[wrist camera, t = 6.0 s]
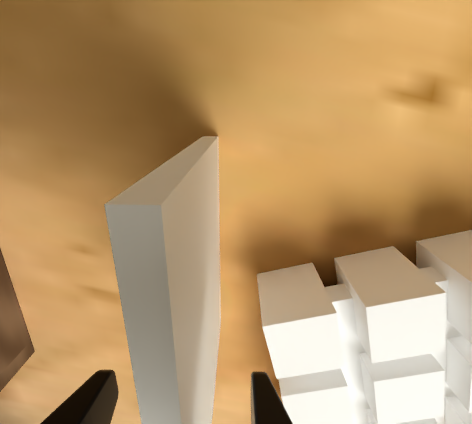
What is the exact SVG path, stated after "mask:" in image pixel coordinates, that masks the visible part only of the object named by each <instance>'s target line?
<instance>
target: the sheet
mask: <svg viewBox="0 0 472 424" xmlns="http://www.w3.org/2000/svg"><path fill="white" fill-rule="evenodd" d="M104 205H105V211H106V217H107V223H108V229H109V234H110V240H111V246H112V252H113V258H114V264H115V270H116V276H117V282H118V287H119V293H120V299H121V305H122V311H123V317H124V323H125V329H126V334H127V340H128V346H129V352H130V358H131V364H132V370H133V376H134V382H135V387H136V393H137V399H138V405H139V411H140V417H141V423H142V424H212V415H213V404H214V392H215V381H216V370H217V359H218V348H219V336H220V325H221V291H220V217H219V142H218V136H202V137H201V138H200V139H198V140H197V141H195V142H194V143H192V144H191V145H189V146H188V147H187V148H185V149H184V150H182V151H181V152H179V153H178V154H176V155H175V156H174V157H172V158H171V159H169V160H168V161H166V162H165V163H163V164H162V165H161V166H159V167H158V168H156V169H155V170H153V171H152V172H150V173H149V174H148V175H146V176H145V177H143V178H142V179H140V180H139V181H137V182H136V183H135V184H133V185H132V186H130V187H129V188H127V189H126V190H124V191H123V192H122V193H120V194H119V195H117V196H116V197H114V198H113V199H111V200H110V201H109V202H107V203H106V204H104Z"/></svg>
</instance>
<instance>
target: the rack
mask: <svg viewBox="0 0 472 424" xmlns="http://www.w3.org/2000/svg"><path fill="white" fill-rule="evenodd" d="M34 352H35V351H34V348H33V345H32V342H31V339H30V336H29V333H28V330H27V327H26V324H25V321H24V319H23V316H22V313H21V310H20V307H19V304H18V301H17V298H16V295H15V292H14V289H13V286H12V283H11V280H10V277H9V274H8V271H7V268H6V265H5V262H4V259H3V256H2V253H1V250H0V392H1V390H2V389H3V388H4V387H5V386H6V384H7V383H8V382H9V381H10V380H11V379H12V377H13V376H14V375H15V374H16V373H17V372H18V370H19V369H20V368H21V367H22V366H23V365H24V363H25V362H26V361H27V360H28V359H29V357H30V356H31V355H32V354H33V353H34Z"/></svg>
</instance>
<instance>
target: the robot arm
mask: <svg viewBox="0 0 472 424" xmlns="http://www.w3.org/2000/svg"><path fill="white" fill-rule="evenodd" d="M117 399H118V385H117V381H116V376H115V372H114V371H113V370H99V371H97V372H96V373H95V374H93V375H92V376H91V377H90V378H89V379H88V380H87V381H86V382H85V383H84V384H83V385H82V386H81V387H79V388H78V389H77V390H76V391H75V392H74V393H73V394H72V395H71V396H70V397H69V398H68V399H66V400H65V401H64V402H63V403H62V404H61V405H60V406H59V407H58V408H57V409H56V410H55V411H53V412H52V413H51V414H50V415H49V416H48V417H47V418H46V419H45V420H44V421H43V422H42V423H41V424H110V423H111V420H112V416H113V413H114V409H115V406H116V403H117ZM251 424H293V423H292V421H291V419H290V417H289V415H288V414H287V412H286V410H285V408H284V406H283V404H282V402H281V400H280V398H279V396H278V394H277V392H276V390H275V388H274V386H273V384H272V383H271V381H270V379H269V377H268V375H267V374H266V373H265V372H253V373H252V374H251Z"/></svg>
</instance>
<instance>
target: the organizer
mask: <svg viewBox="0 0 472 424" xmlns="http://www.w3.org/2000/svg"><path fill="white" fill-rule="evenodd" d="M334 261H335V268H336V275H337V282H338V285H333V286H328V287H324V285H323V283H322V281H321V279H320V277H319V275H318V273H317V271H316V269H315V267H314V264H313V263H308V264H303V265H298V266H293V267H288V268H283V269H278V270H274V271H269V272H264V273H259V274H257V281H258V290H259V300H260V310H261V319H262V327H263V331H264V335H265V339H266V342H267V346H268V350H269V353H270V357H271V361H272V364H273V368H274V372H275V375H276V379H279V384H280V391H281V397H282V401H283V405H284V408H285V410H286V412H287V414H288V415H289V417H290V419H291V421H292V423H293V424H472V230H469V231H464V232H459V233H454V234H449V235H444V236H439V237H434V238H430V239H425V240H420V241H416V266H415V265H414V264H413V263H412V262H411V261H410V260H409V259H407V258H406V257H405V256H404V255H403V254H402V253H401V252H399V251H398V250H397V249H396V248H395V247H394V246H391V247H386V248H381V249H376V250H371V251H366V252H361V253H356V254H352V255H347V256H342V257H337V258H334Z"/></svg>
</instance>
